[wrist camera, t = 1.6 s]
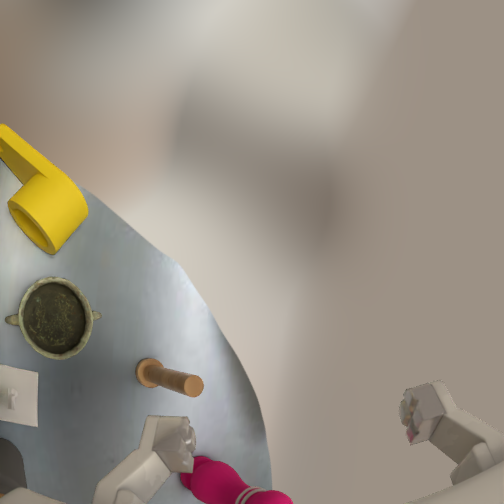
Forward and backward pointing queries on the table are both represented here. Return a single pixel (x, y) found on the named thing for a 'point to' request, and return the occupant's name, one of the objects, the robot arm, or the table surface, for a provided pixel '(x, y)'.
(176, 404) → the table surface
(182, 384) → the muddler
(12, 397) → the adhesive hook
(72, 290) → the vessel
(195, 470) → the pepper mill
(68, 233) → the crank
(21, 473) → the bottle
